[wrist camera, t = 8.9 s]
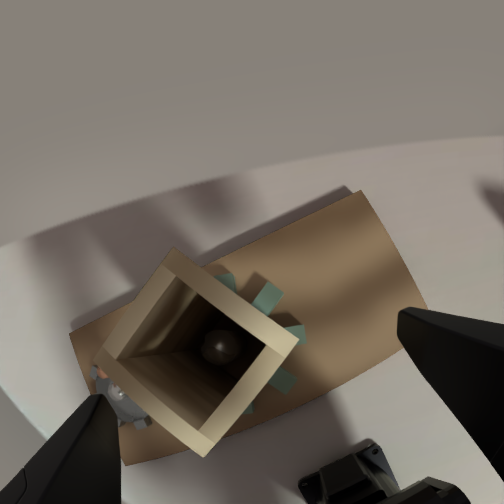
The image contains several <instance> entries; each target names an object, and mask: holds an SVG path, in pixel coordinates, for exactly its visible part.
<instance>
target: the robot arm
mask: <svg viewBox="0 0 504 504" xmlns="http://www.w3.org/2000/svg"><path fill="white" fill-rule="evenodd" d="M397 337H398V339H399V341H400V343H401V344H402V346H403V347H404V349H405V350H406V352H407V353H408V355H409V356H410V358H411V359H412V361H413V362H414V364H415V365H416V367H417V368H418V370H419V371H420V373H421V374H422V375H423V377H424V378H425V379H426V380H427V382H428V383H429V384H430V385H431V387H432V388H433V389H434V390H435V391H436V393H437V394H438V395H439V396H440V398H441V399H442V400H443V401H444V403H445V404H446V405H447V407H448V408H449V409H450V410H451V412H452V413H453V414H454V415H455V417H456V418H457V419H458V421H459V422H460V423H461V424H462V426H463V427H464V428H465V430H466V431H467V432H468V434H469V435H470V436H471V438H472V439H473V440H474V441H475V443H476V444H477V445H478V447H479V448H480V450H481V451H482V452H483V454H484V455H485V456H486V458H487V459H488V460H489V462H490V463H491V465H492V466H493V468H494V469H495V470H496V472H497V473H498V475H499V476H500V477H501V479H502V480H503V482H504V324H499V323H494V322H488V321H483V320H478V319H472V318H467V317H462V316H457V315H451V314H446V313H441V312H436V311H431V310H426V309H421V308H416V307H411V306H410V307H407V308H404V309H402V310H400V311H399V312H398V317H397ZM374 449H377V451H376V452H375V453H372V451H373V450H374ZM303 483H308V485H307V486H303V485H302V484H303ZM298 487H299V489H300V491H301V493H302V494H303V496H304V498H305V499H306V501H307V503H308V504H471V502H470V501H469V499H468V498H467V497H466V495H465V494H464V493H463V492H462V491H461V490H460V489H459V488H458V487H457V486H455V485H453V484H451V483H447V482H444V481H441V480H438V479H434V478H431V477H426V478H425V479H423V480H421V481H417V482H416V483H414V484H412V485H410V486H409V487H407V488H405V489H403V490H400V488H399V486H398V484H397V481H396V479H395V477H394V475H393V473H392V470H391V468H390V466H389V464H388V462H387V459H386V457H385V455H384V453H383V451H382V449H381V447H380V446H379V445H377V444H373V445H371V446H369V447H367V448H365V449H363V450H362V451H360V452H358V453H356V454H350V455H348V456H346V457H344V458H342V459H340V460H338V461H336V462H334V463H331V464H329V465H327V466H325V467H323V468H321V469H320V471H319V472H316V473H314V474H312V475H310V476H307V477H305V478H302V479H301V480H299V482H298ZM0 504H121V456H120V445H119V432H118V418H117V415H116V412H115V411H114V409H113V408H112V406H111V404H110V403H109V401H108V400H107V398H106V396H105V395H104V394H102V393H99V394H92V395H90V396H89V397H88V398H87V399H86V400H85V401H84V402H83V403H82V404H81V405H80V406H79V407H78V408H77V409H76V410H75V411H74V413H73V414H72V415H71V416H70V417H69V418H68V419H67V420H66V421H65V422H64V423H63V424H62V425H61V427H60V428H59V429H58V430H57V431H56V432H55V433H54V434H53V435H52V436H51V437H50V438H49V440H48V441H47V442H46V443H45V444H44V445H43V446H42V447H41V448H40V449H39V450H38V452H37V453H36V454H35V455H34V456H33V457H32V458H31V459H30V460H29V461H28V463H27V464H26V465H25V466H24V468H22V469H21V470H20V471H19V473H18V474H17V475H16V476H15V477H14V478H13V479H12V480H11V481H10V482H9V483H8V484H7V485H6V486H5V487H4V488H3V489H2V490H1V491H0Z"/></svg>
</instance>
